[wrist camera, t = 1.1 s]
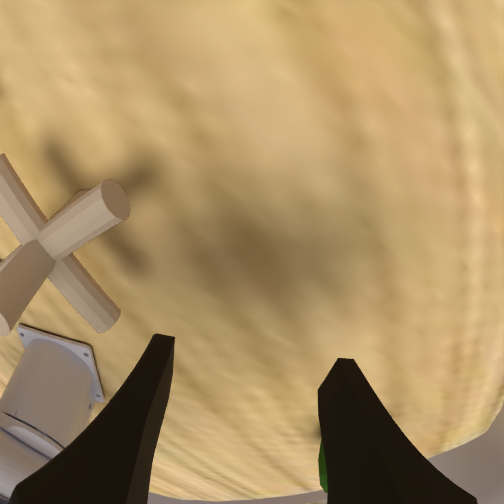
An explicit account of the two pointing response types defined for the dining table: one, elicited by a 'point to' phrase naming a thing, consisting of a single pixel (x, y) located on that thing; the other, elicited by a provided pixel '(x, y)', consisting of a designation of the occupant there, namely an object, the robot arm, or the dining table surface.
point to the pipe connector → (56, 248)
